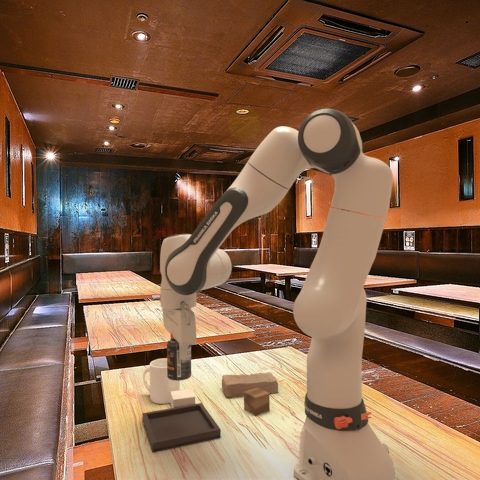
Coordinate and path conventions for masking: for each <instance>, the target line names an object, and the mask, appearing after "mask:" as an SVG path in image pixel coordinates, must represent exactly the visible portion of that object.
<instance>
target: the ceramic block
mask: <svg viewBox="0 0 480 480" xmlns="http://www.w3.org/2000/svg"><path fill="white" fill-rule="evenodd" d="M170 393H171V403H170V408H175V407H181V406H187V405H192V404H196V395H195V393H194V391H193V390H192V388H186V389H180V390H178V391H170Z"/></svg>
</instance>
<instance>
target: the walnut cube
mask: <svg viewBox="0 0 480 480" xmlns="http://www.w3.org/2000/svg"><path fill="white" fill-rule="evenodd" d="M270 401H271V400H270V394H269V393H268V392H266V391H264V390H262V389H260V388H254V389H251V390H248V391H245V392H244V397H243V410H244V411H246V412H248V413H249V414H251V415H253V416H255V417H257V416H260V415H262V414H265V413H268V412H270V409H271V407H270V405H271V404H270Z"/></svg>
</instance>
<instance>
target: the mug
mask: <svg viewBox="0 0 480 480" xmlns="http://www.w3.org/2000/svg"><path fill="white" fill-rule="evenodd" d="M147 373H149V384H147V382H146V379H145V377H146V374H147ZM142 376H143V377H142V380H143V385H144V387H145V389H146V390H147V391H149V396H150V401H151V402H152V403H154V404H157V405H167V404H171V393H170V391H178V390H181V389H180V385H181V384H180V383H181V381H173V380H170V379H168V377H167V357H166V358H165V357H164V358H157V359H154V360H152V361H150V363H149V365H148V366H147V367H146V368H145V369H144V371H143V374H142Z"/></svg>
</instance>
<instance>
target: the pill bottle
mask: <svg viewBox="0 0 480 480" xmlns="http://www.w3.org/2000/svg"><path fill="white" fill-rule="evenodd" d="M178 351H179V343H178V342H177V341H176V339H175V338H174V337H173V334H172V333H171V337H170V339H169V340H168V341H167V343H166V358H167V377H168V379H170V380H173V381H180V382H182V381H186V380H188V379H190V378H191V377H192V345H189V347H188V351H187V359H185V360H180V359H179V357H178V355H179V354H178Z"/></svg>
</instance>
